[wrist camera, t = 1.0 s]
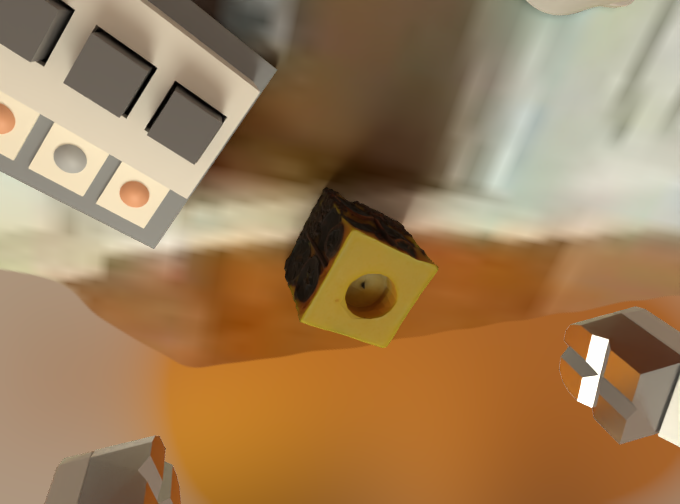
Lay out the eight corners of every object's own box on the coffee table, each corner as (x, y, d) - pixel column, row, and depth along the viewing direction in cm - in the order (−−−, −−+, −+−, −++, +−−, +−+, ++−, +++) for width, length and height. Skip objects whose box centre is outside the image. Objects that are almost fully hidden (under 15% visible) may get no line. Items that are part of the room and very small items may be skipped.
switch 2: (110, 30, 32) (91, 32, 27) (157, 63, 34) (147, 71, 29) (86, 72, 33) (63, 82, 28) (133, 103, 35) (119, 118, 30)
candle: (324, 184, 45) (351, 224, 37) (403, 221, 49) (444, 264, 41) (279, 267, 48) (294, 322, 40) (358, 296, 52) (386, 350, 44)
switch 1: (28, -28, 30) (-10, -37, 25) (83, 11, 32) (58, 10, 26) (4, 19, 31) (-38, 20, 26) (59, 55, 32) (30, 62, 27)
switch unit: (45, -118, 30) (3, -152, 24) (275, 68, 39) (287, 78, 33) (-77, 126, 35) (-137, 148, 29) (155, 244, 43) (146, 280, 37)
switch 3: (180, 80, 35) (174, 90, 30) (220, 108, 37) (222, 123, 31) (156, 118, 36) (146, 135, 31) (196, 144, 37) (194, 164, 32)
